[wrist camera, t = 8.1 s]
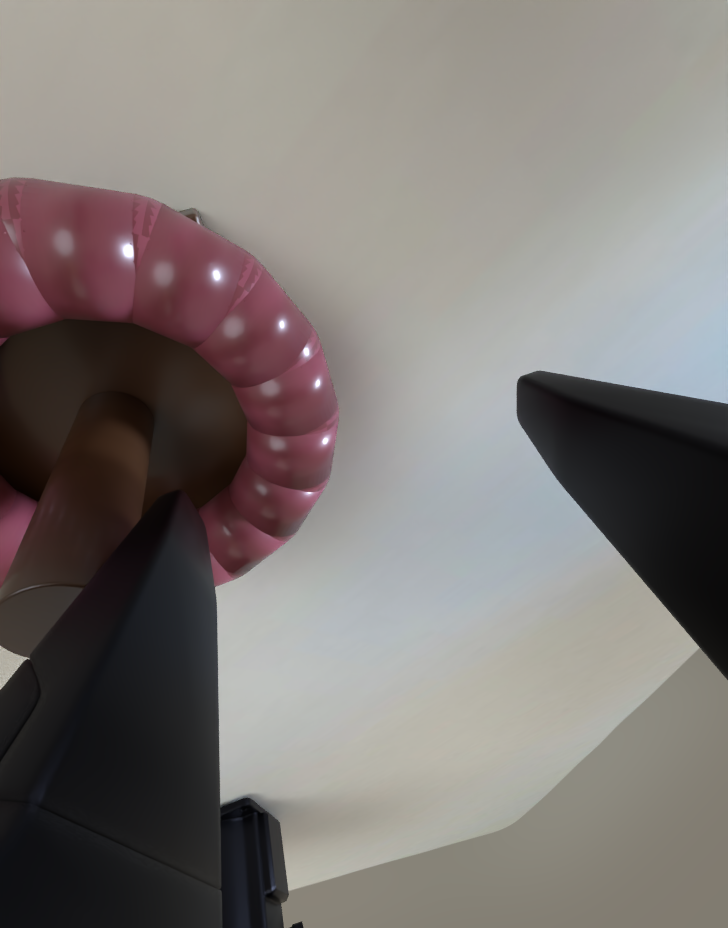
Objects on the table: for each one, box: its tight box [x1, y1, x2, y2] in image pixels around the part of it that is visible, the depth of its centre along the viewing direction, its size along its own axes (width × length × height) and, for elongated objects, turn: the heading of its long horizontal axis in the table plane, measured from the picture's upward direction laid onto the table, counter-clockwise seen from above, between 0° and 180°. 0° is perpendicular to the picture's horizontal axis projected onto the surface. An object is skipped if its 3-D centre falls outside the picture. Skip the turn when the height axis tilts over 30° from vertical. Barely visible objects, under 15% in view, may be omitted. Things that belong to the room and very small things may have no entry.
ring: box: [0, 177, 339, 589], centre depth 11 cm, size 11×11×2 cm
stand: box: [0, 208, 247, 658], centre depth 10 cm, size 8×8×8 cm
